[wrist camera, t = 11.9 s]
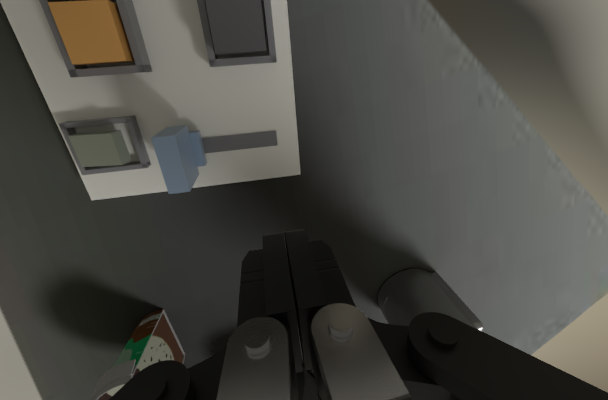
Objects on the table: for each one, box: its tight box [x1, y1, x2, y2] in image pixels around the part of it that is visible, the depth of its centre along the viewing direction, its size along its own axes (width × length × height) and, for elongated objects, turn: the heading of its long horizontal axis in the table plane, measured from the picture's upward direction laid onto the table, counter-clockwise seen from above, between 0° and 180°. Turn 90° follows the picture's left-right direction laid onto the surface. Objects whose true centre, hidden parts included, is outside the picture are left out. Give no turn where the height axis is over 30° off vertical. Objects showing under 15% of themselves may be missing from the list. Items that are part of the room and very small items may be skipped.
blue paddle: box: [151, 125, 207, 194], centre depth 23 cm, size 3×4×5 cm
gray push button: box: [205, 0, 266, 55], centre depth 20 cm, size 4×4×2 cm
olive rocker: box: [68, 130, 131, 167], centre depth 23 cm, size 4×3×1 cm
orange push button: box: [48, 0, 135, 65], centre depth 20 cm, size 4×4×2 cm
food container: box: [92, 309, 185, 400], centre depth 33 cm, size 12×6×10 cm, turn 6°
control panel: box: [0, 0, 301, 200], centre depth 23 cm, size 20×18×4 cm
